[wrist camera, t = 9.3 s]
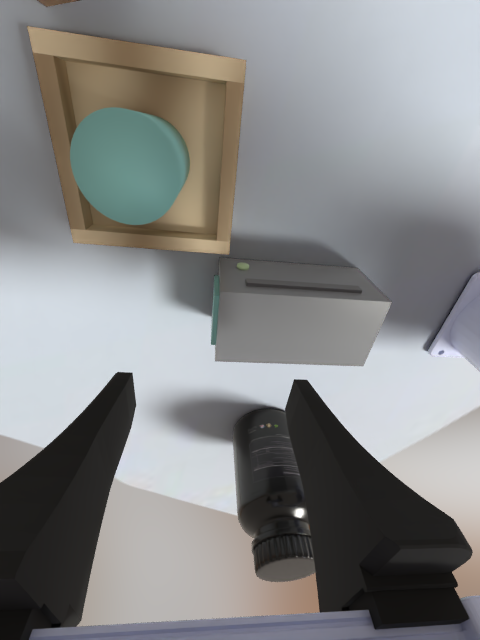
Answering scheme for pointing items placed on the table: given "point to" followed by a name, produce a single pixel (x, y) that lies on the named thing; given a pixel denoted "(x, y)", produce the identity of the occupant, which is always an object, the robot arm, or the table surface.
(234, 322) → the gray block
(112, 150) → the teal peg
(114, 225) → the birch tray
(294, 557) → the supplement bottle
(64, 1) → the walnut block
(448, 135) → the table surface
